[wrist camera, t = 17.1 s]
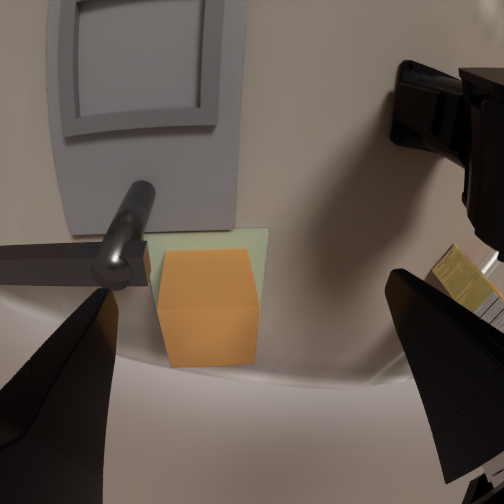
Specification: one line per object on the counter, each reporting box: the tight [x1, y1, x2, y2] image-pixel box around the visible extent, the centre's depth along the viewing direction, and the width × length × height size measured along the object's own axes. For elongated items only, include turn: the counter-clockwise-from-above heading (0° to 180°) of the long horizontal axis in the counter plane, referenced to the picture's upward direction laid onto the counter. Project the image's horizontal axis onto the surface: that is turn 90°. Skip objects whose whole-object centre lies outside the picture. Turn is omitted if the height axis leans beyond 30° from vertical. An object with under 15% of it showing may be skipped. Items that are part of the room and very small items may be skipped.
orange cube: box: [157, 248, 260, 368], centre depth 21 cm, size 6×6×6 cm
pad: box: [143, 228, 269, 321], centre depth 24 cm, size 9×9×1 cm
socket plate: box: [46, 0, 248, 235], centre depth 14 cm, size 12×20×2 cm, turn 177°
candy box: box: [432, 244, 504, 333], centre depth 23 cm, size 9×4×15 cm, turn 58°
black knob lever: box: [0, 180, 156, 291], centre depth 14 cm, size 19×2×8 cm, turn 86°
